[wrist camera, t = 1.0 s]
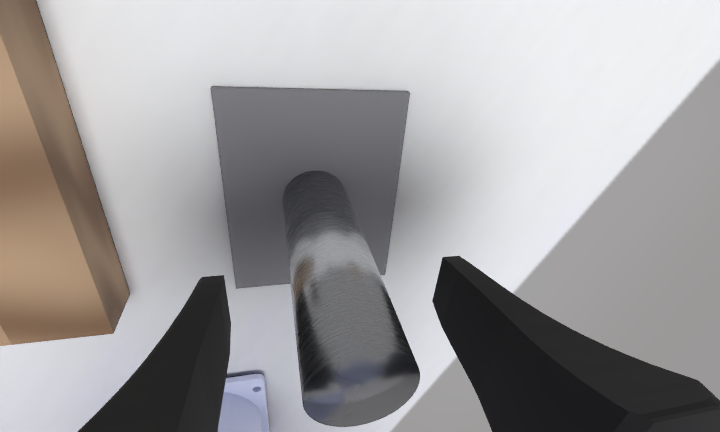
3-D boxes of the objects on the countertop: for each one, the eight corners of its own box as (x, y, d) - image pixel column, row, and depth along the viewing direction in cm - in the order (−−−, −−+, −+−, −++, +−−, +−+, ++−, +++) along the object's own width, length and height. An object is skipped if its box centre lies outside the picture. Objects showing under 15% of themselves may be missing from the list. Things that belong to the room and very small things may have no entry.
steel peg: (344, 224, 19) (410, 415, 10) (283, 228, 18) (302, 435, 10) (348, 169, 17) (429, 342, 9) (281, 171, 17) (301, 359, 8)
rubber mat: (383, 271, 21) (385, 274, 21) (236, 284, 20) (236, 288, 19) (407, 91, 16) (409, 93, 16) (211, 86, 14) (210, 88, 14)
